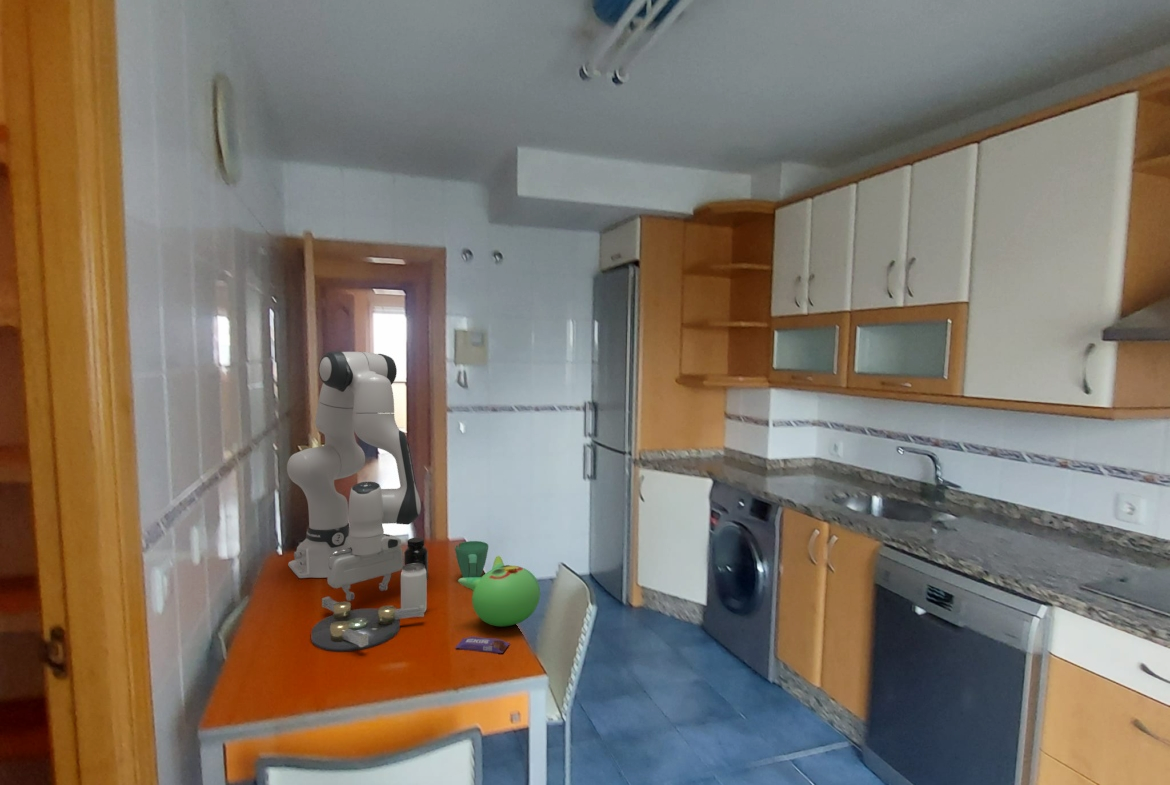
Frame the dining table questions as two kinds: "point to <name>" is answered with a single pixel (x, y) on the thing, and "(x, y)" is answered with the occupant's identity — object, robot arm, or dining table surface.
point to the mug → (471, 558)
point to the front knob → (347, 634)
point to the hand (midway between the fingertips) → (367, 594)
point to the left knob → (398, 613)
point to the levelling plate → (359, 622)
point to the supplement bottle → (416, 553)
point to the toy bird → (504, 594)
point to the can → (413, 586)
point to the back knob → (337, 608)
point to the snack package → (483, 644)
